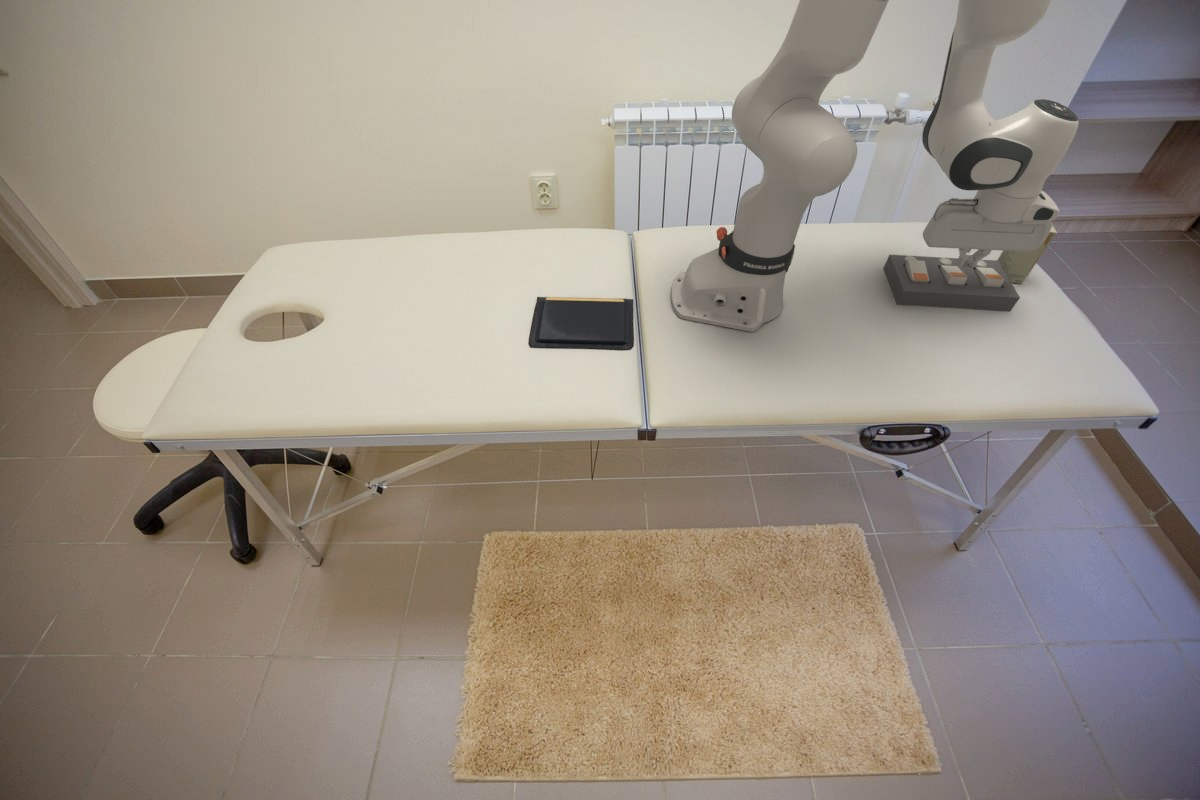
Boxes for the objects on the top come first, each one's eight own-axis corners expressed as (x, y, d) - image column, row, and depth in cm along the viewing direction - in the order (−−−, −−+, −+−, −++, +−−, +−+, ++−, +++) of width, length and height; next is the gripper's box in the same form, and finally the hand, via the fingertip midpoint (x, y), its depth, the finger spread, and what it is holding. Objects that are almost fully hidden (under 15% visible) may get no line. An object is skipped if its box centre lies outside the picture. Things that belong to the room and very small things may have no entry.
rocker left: (908, 285, 115) (913, 279, 113) (904, 266, 117) (908, 259, 116) (925, 286, 115) (929, 280, 113) (920, 266, 117) (925, 260, 115)
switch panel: (896, 304, 114) (904, 290, 111) (883, 268, 122) (889, 254, 119) (1010, 311, 113) (1020, 297, 110) (988, 274, 121) (998, 260, 118)
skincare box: (1022, 284, 118) (1058, 233, 109) (1000, 282, 119) (1034, 231, 110) (1014, 266, 123) (1048, 215, 113) (992, 263, 123) (1025, 213, 114)
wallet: (525, 342, 105) (536, 290, 115) (526, 350, 106) (537, 297, 116) (633, 347, 104) (635, 294, 114) (633, 355, 106) (635, 302, 116)
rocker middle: (947, 284, 113) (951, 275, 112) (937, 273, 117) (941, 264, 116) (963, 285, 113) (968, 276, 112) (953, 274, 117) (957, 265, 116)
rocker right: (983, 286, 113) (987, 277, 112) (972, 275, 117) (976, 266, 116) (1000, 287, 113) (1004, 278, 112) (988, 276, 117) (992, 267, 116)
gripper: (947, 207, 99) (914, 272, 109) (1070, 212, 98) (1024, 277, 108) (937, 188, 103) (906, 253, 113) (1054, 193, 102) (1012, 258, 112)
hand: (964, 265), depth 111 cm, fingers closed
